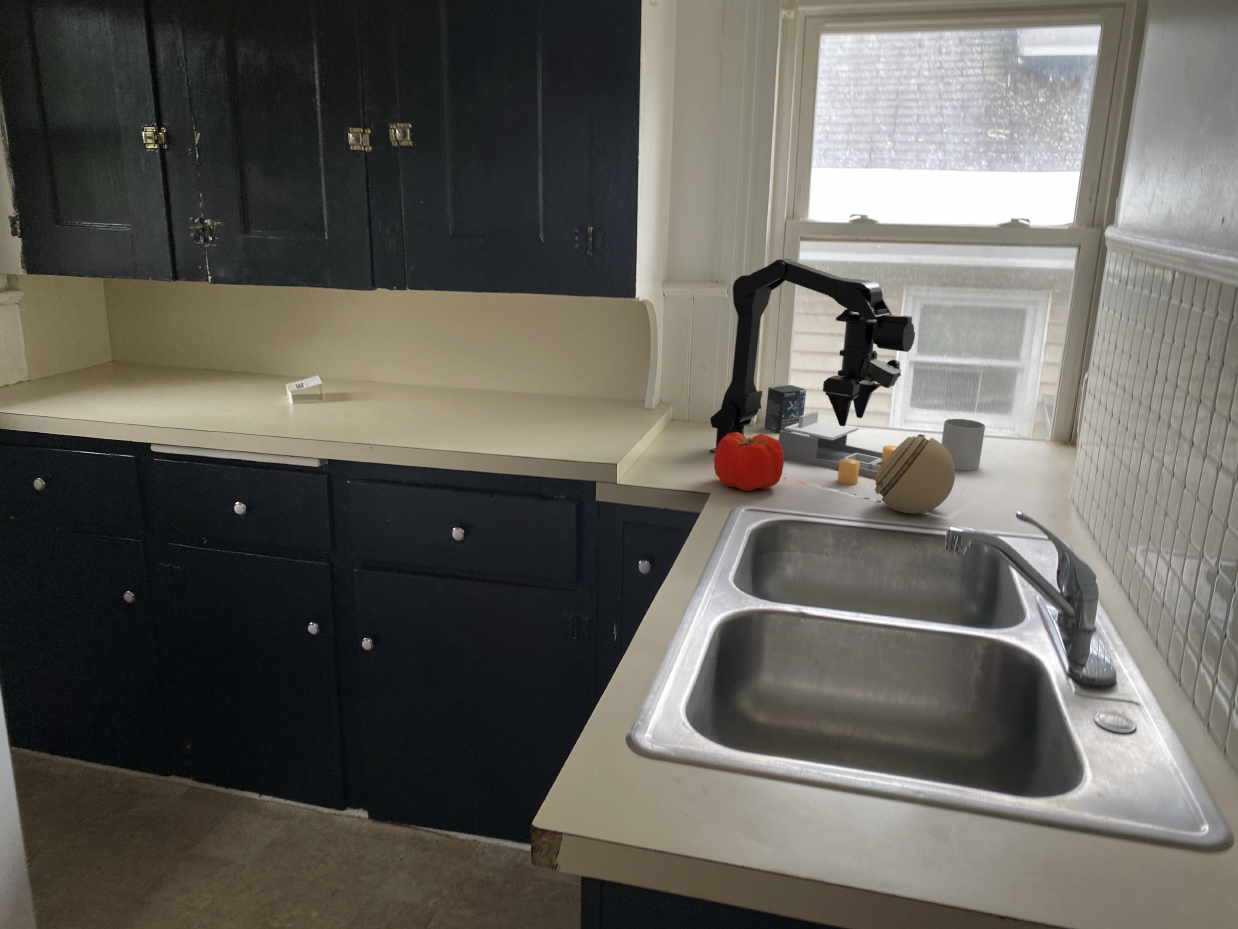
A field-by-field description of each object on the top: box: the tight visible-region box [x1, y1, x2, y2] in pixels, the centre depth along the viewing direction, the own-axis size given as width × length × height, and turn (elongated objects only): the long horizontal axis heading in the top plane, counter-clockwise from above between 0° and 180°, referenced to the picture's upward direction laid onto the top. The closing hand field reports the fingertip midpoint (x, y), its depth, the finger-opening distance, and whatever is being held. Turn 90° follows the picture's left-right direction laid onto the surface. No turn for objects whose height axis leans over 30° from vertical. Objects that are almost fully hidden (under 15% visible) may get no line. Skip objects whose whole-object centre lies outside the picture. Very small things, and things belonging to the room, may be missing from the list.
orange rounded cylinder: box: [837, 459, 860, 486], centre depth 195 cm, size 4×4×5 cm
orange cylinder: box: [881, 445, 898, 466], centre depth 204 cm, size 4×4×5 cm
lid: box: [785, 411, 859, 440], centre depth 213 cm, size 13×12×3 cm
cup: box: [940, 418, 986, 471], centre depth 210 cm, size 8×8×10 cm
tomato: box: [713, 432, 785, 492], centre depth 191 cm, size 14×13×10 cm
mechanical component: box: [874, 433, 956, 515], centre depth 179 cm, size 15×15×15 cm
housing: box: [778, 430, 882, 479], centre depth 210 cm, size 15×26×6 cm, turn 51°
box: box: [764, 384, 807, 434], centre depth 236 cm, size 8×6×11 cm
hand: (851, 421), depth 195 cm, fingers open, 9 cm apart
